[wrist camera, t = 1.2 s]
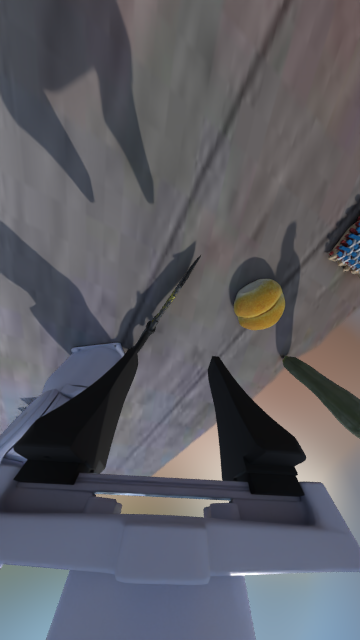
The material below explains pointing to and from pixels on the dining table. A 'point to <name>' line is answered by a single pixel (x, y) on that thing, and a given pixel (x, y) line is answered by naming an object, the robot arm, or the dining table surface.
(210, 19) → the dining table surface
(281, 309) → the bread roll
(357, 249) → the woven mat
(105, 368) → the robot arm
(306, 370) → the vegetable
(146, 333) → the knife
